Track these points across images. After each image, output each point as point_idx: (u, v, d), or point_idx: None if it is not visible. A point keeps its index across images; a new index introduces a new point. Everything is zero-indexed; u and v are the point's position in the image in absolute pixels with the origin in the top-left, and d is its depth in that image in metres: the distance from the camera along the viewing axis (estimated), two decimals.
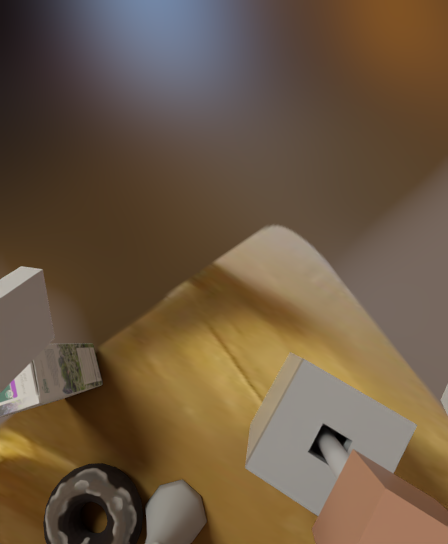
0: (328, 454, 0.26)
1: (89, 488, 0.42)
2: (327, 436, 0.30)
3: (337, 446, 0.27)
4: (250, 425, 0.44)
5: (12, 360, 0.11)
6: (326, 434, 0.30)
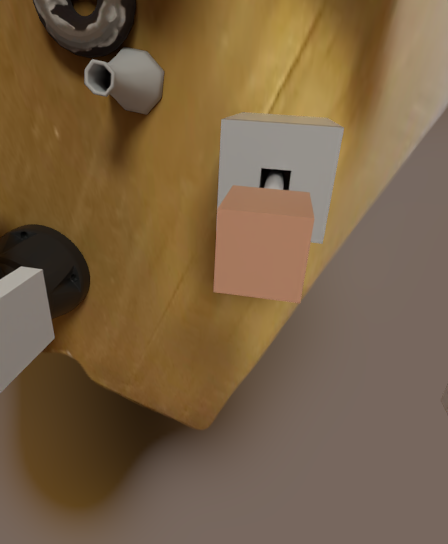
0: (273, 183, 0.29)
1: None
2: (281, 178, 0.32)
3: (282, 188, 0.29)
4: (242, 112, 0.44)
5: (12, 360, 0.11)
6: (282, 177, 0.32)
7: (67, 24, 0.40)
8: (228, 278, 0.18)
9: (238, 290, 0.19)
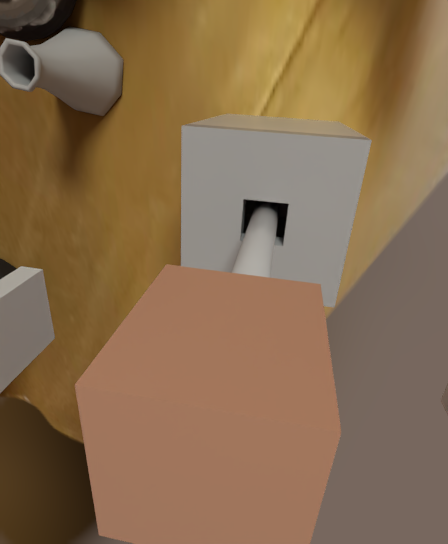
0: (259, 228, 0.18)
1: None
2: (274, 215, 0.21)
3: (273, 235, 0.19)
4: (226, 114, 0.33)
5: (12, 360, 0.11)
6: (275, 212, 0.22)
7: None
8: (127, 518, 0.08)
9: (153, 540, 0.08)
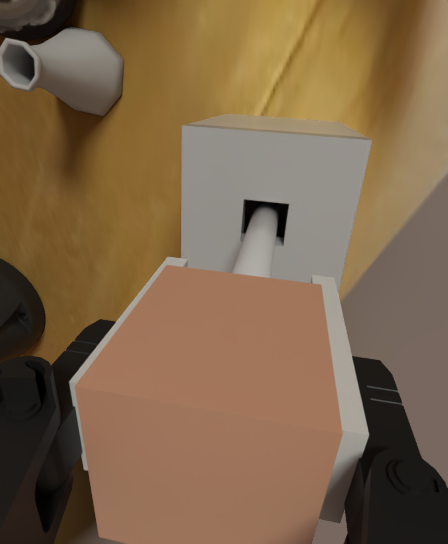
0: (259, 228, 0.18)
1: None
2: (274, 215, 0.21)
3: (274, 235, 0.19)
4: (226, 114, 0.33)
5: None
6: (275, 212, 0.22)
7: None
8: (127, 520, 0.08)
9: (154, 542, 0.08)
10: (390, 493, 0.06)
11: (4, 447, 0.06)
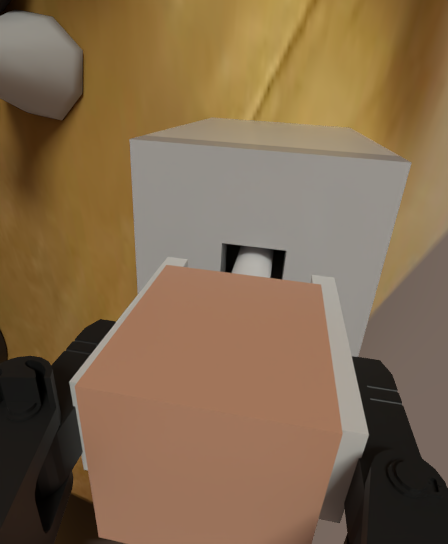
0: None
1: None
2: None
3: None
4: (210, 118, 0.26)
5: None
6: None
7: None
8: (127, 520, 0.08)
9: (154, 542, 0.08)
10: (390, 493, 0.06)
11: (4, 447, 0.06)
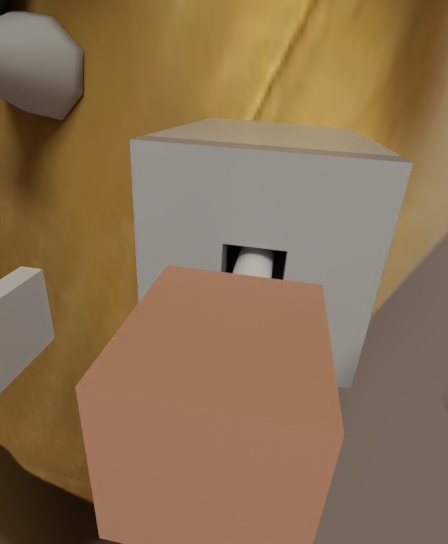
0: None
1: None
2: None
3: None
4: (210, 118, 0.26)
5: (12, 360, 0.11)
6: None
7: None
8: (128, 521, 0.08)
9: (154, 543, 0.08)
10: None
11: None
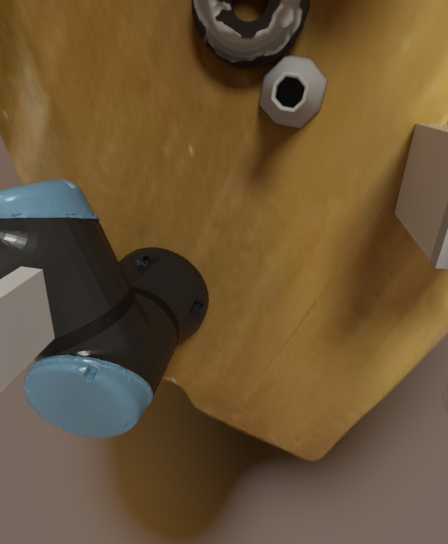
0: None
1: None
2: None
3: None
4: (419, 124, 0.38)
5: (12, 360, 0.11)
6: None
7: (232, 32, 0.36)
8: None
9: None
10: None
11: None
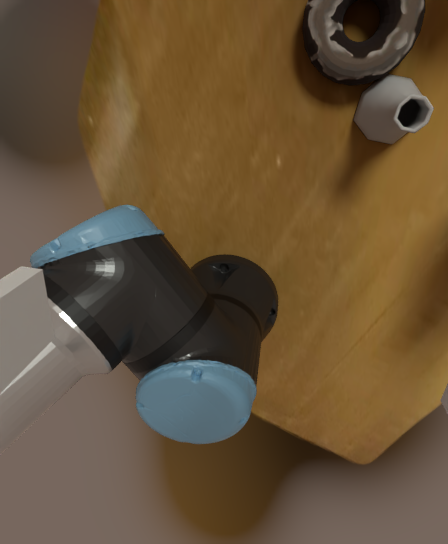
0: None
1: None
2: None
3: None
4: None
5: (13, 360, 0.11)
6: None
7: (344, 51, 0.37)
8: None
9: None
10: None
11: None
